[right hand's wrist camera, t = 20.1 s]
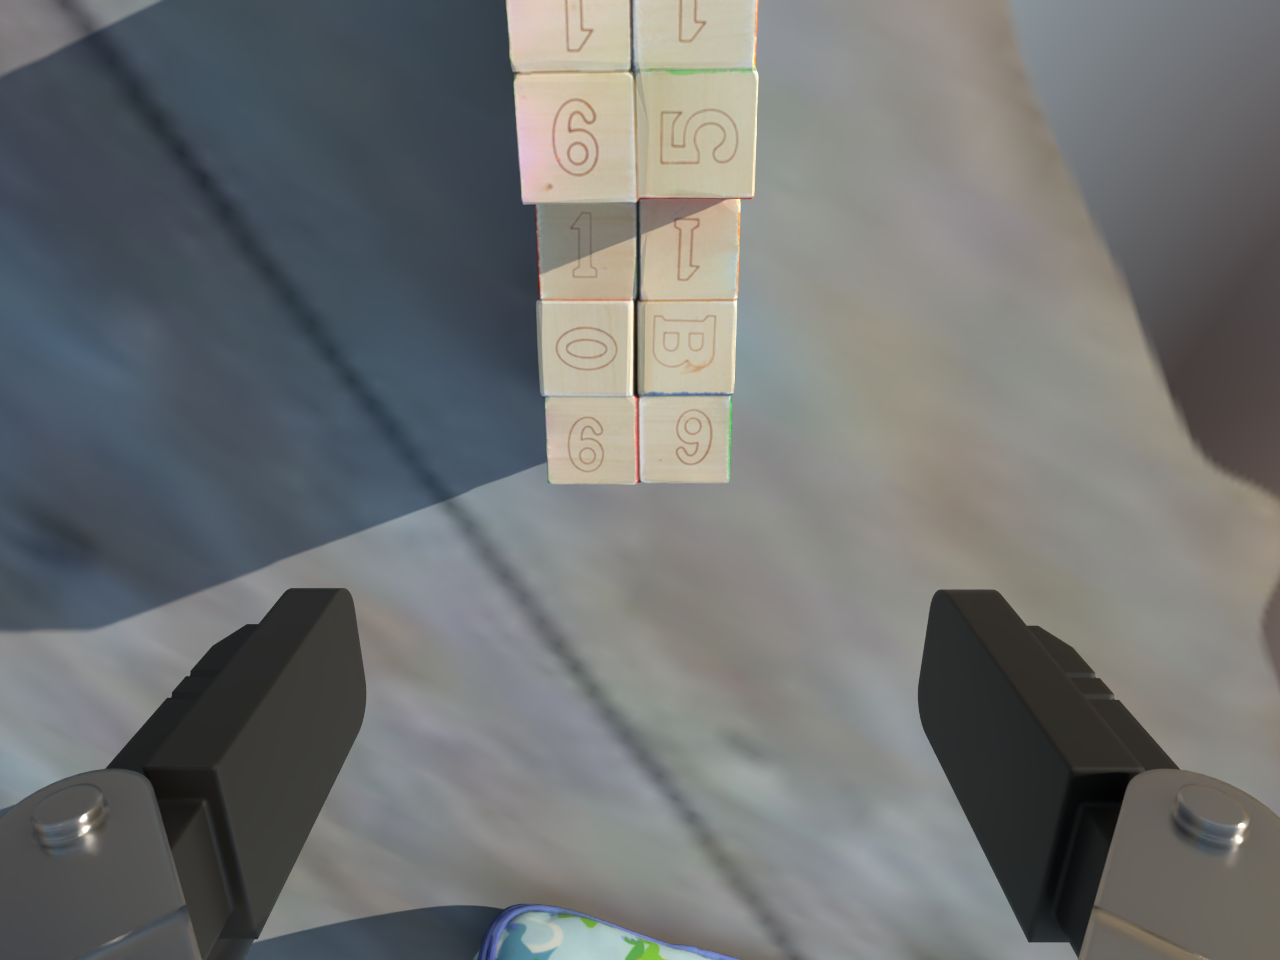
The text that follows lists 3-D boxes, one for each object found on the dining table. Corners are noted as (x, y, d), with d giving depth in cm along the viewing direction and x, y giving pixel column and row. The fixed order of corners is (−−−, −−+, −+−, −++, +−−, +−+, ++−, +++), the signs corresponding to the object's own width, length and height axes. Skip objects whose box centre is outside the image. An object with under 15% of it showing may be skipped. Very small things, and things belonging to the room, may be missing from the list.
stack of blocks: (708, 408, 36) (740, 527, 24) (565, 407, 36) (529, 526, 24) (729, -196, 28) (792, -444, 16) (545, -197, 28) (479, -445, 16)
